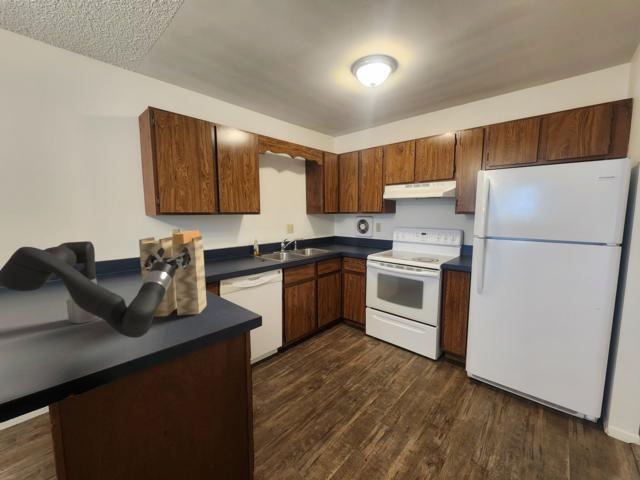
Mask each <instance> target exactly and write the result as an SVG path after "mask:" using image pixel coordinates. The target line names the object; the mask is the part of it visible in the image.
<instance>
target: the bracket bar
mask: <svg viewBox="0 0 640 480" xmlns="http://www.w3.org/2000/svg"><path fill="white" fill-rule="evenodd" d="M199 236H200V230H199V229H198V230H187V231H182V232H177V233H173V234H172V238H173V244H185V243H188V242H191V241H192V238H195V237H199Z"/></svg>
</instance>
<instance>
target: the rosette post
mask: <svg viewBox="0 0 640 480" xmlns="http://www.w3.org/2000/svg"><path fill="white" fill-rule="evenodd" d="M172 239H173V236H167V237H164V238H160V239H157V240H155V237H154V236H152V237H147V238H142V239H139V240H138V241H139V243H138V247H139V248H138V249H139V258H140V259H139V261H140V269H141V271H140V272H141V281H142V282H141V283H142V284H143V282H144V280H145V278H146V276H147V275H148V273H149V271H150V270H149V271H146V269H145V266H144V264H145V262H146V260H147V258H148V256H149V255H152V256H153V255H155V254H156V253H157V252H158V250H159V249H160V248H163V249H164V254H163V256H162V259H163V258H171V257H173V248H172ZM156 262H158V261H157V260H154V263H156ZM154 263H153V264H154ZM175 310H177V302H176V288H175V275H174V277H173V279H172V281H171V284H170V286H169V288H168V289H167V291H166V293H165V295H164V297H163V299H162V301H161V303H160V304H159V305H158V306H157V309H156V311H155V314H154V316H153V318H154V317H155V318H157V317H169V316H170V315H171V314H172V313H173V312H174V311H175Z"/></svg>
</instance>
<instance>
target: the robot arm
mask: <svg viewBox="0 0 640 480" xmlns="http://www.w3.org/2000/svg"><path fill="white" fill-rule="evenodd" d="M188 252H189V251H188V248H187V247H184V249H183V251H182V254H180V255H176V256H175V257H171V258H163V259H162V256H163V254H164V249H163V248H160V249H159V250H158V252H157V253H156V254H155V255H153V256H152V255H149V256H148V258H147V260H146V262H145V264H144V266H145V269H146V271H149V270H150V271H149V273H148V275H147V276H146V278H145V280H144V282H143V283H142V285H141V287H140V289H139V291H138V292H137V294H136V296H135V297H134V298H133V299H132V301H131V302H130V303H129V304H128V306H127V305H126V301H125V299H124V298H123V297H122V296H121V295H118V294H117V293H115V292H113V291H110V290H109V289H107V288H104V287H102V286H100V285H99V284H98V281H97V272H96V270H97V269H96V258H95V257H96V254H95V253H96V252H95V246H94V244H93V242H91V241H89V240H88V241H87V240H86V241H68V242H63V243H61V244H58V246H52V247H48V248H45V249H41V248H38V247H34V246H21V247H19V248H18V249H16V251H14V252H13V254H12V255H11V256H10V258H9V259H8V260H7V261H6V263H5V264H4V265H3V266H2V267H1V268H0V285H1V286H2V287H4V288H5V289H8V290H11V291H15V292H32V291H37V290H39V289H41V287H43V286H44V285H45V284H46V283H47V282H48V281H50V280H51V279H53V278H55V277H58V278H59V279H60V281H61V282H62V283H63V285H64V287H65V288H66V290H67V293H68V294H67V295H68V299H66V310H67V317H68V323H72V324H85V323H89V322H92V321H95V320H98V319H102V320H104V322H106V323H107V324H108V325H109V326H110V327H111V328H113V329H114V330H115V331H116V332H118V333H119V334H121V335H122V336H124V337H127V338H132V339H133V338H136V339H137V338H141V337H143V336H145V335H146V334H147V333H148V332H149V331H150V328H151V326H152V322H153V318H154V317H153V316H154V314H155V311H156V309H157V306H158V305H159V304H160V303H161V301H162V299H163V297H164V295H165V293H166V291H167V289H168V288H169V286H170V284H171V281H172V279H173V277H174V275H175V272H176V270H177V269H178V268H183V269H186V268H187V267H188V265H189V263H190V261H191V257H190V254H188ZM181 257H183V258H181ZM176 259H177V260H178V262H177V261H176ZM154 260H157V261H158V262H156V263H154ZM153 263H154V264H153ZM81 264H82V265H83V267H82V268H80V269H78V270H77V269H75V268H74V266H75V265H81Z"/></svg>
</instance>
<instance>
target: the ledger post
mask: <svg viewBox="0 0 640 480" xmlns="http://www.w3.org/2000/svg"><path fill="white" fill-rule="evenodd" d="M203 242H204V241H203V235H201V236H200V235H199V237H195V238H192V241H191V242H188V243H185V244H173V239H172V248H173V257H175V256H176V255H180V254H182V251H183V249H184V247H187V248H188V251H189V252H188V254H190V257H191V261H190V263H189V265H188V267H187V268H186V269H183V268H178V269H177V270H176V272H175V288H176V302H177V308H176V312H177V314H176V315H177V316H188V315H189V316H191V315H199V314H201V312H202V311H204V309H205V308H206V307H207V289H206V275H205V274H206V273H205V271H206V270H205V257H204V256H205V255H204V243H203ZM181 258H183V257H181ZM176 261H177V262H178V260H177V259H176Z"/></svg>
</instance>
